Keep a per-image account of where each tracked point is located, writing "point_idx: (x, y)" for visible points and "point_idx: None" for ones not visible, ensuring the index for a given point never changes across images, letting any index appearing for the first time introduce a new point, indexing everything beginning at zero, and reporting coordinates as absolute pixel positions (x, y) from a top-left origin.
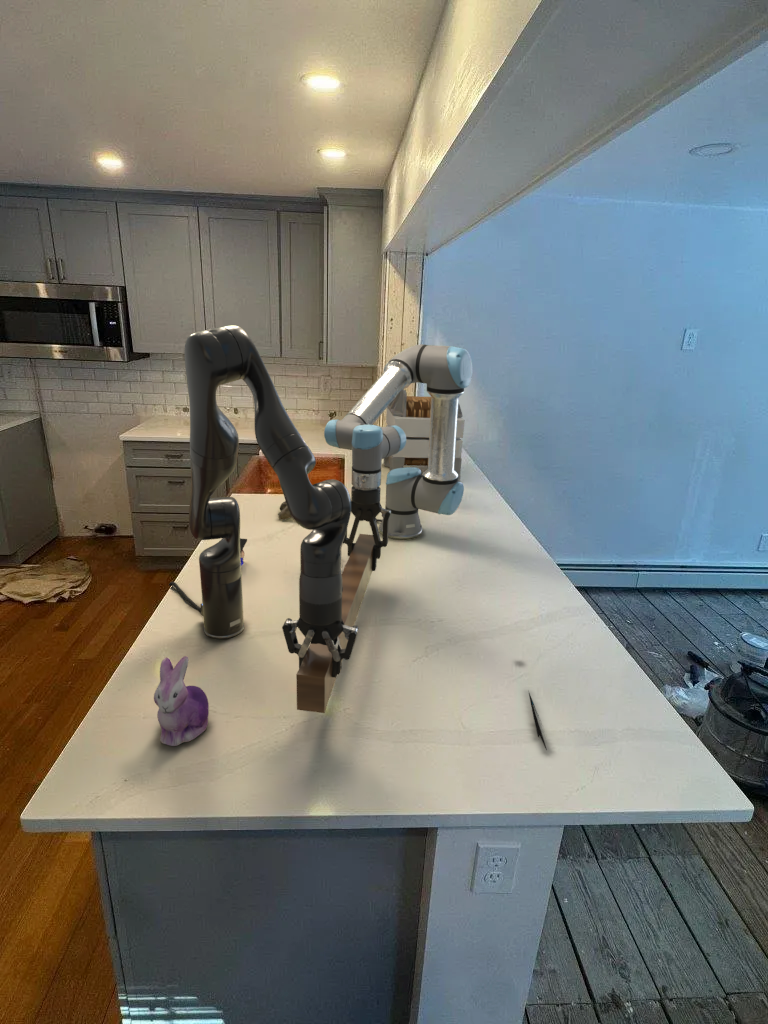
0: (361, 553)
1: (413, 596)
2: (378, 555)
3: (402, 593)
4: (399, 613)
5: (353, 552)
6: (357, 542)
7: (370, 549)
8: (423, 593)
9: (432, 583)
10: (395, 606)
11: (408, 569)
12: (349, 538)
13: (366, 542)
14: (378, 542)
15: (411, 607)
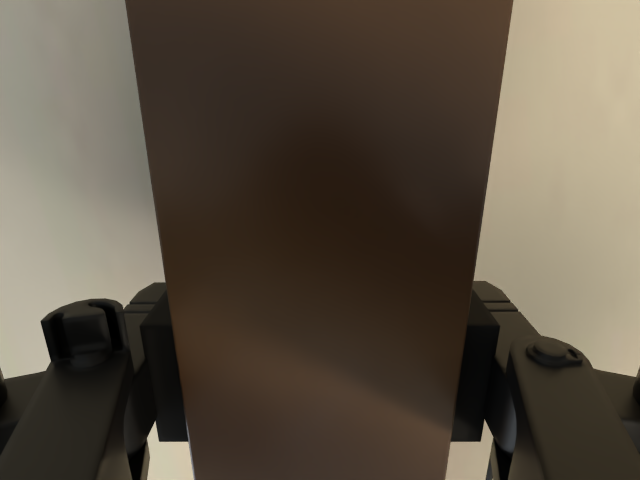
0: (305, 45)
1: (61, 230)
2: (149, 302)
3: (124, 249)
4: (76, 21)
5: (464, 53)
6: (427, 439)
7: (187, 254)
8: (23, 270)
9: (15, 369)
10: (121, 102)
11: (158, 464)
12: (615, 431)
13: (302, 461)
14: (40, 407)
15: (34, 109)
